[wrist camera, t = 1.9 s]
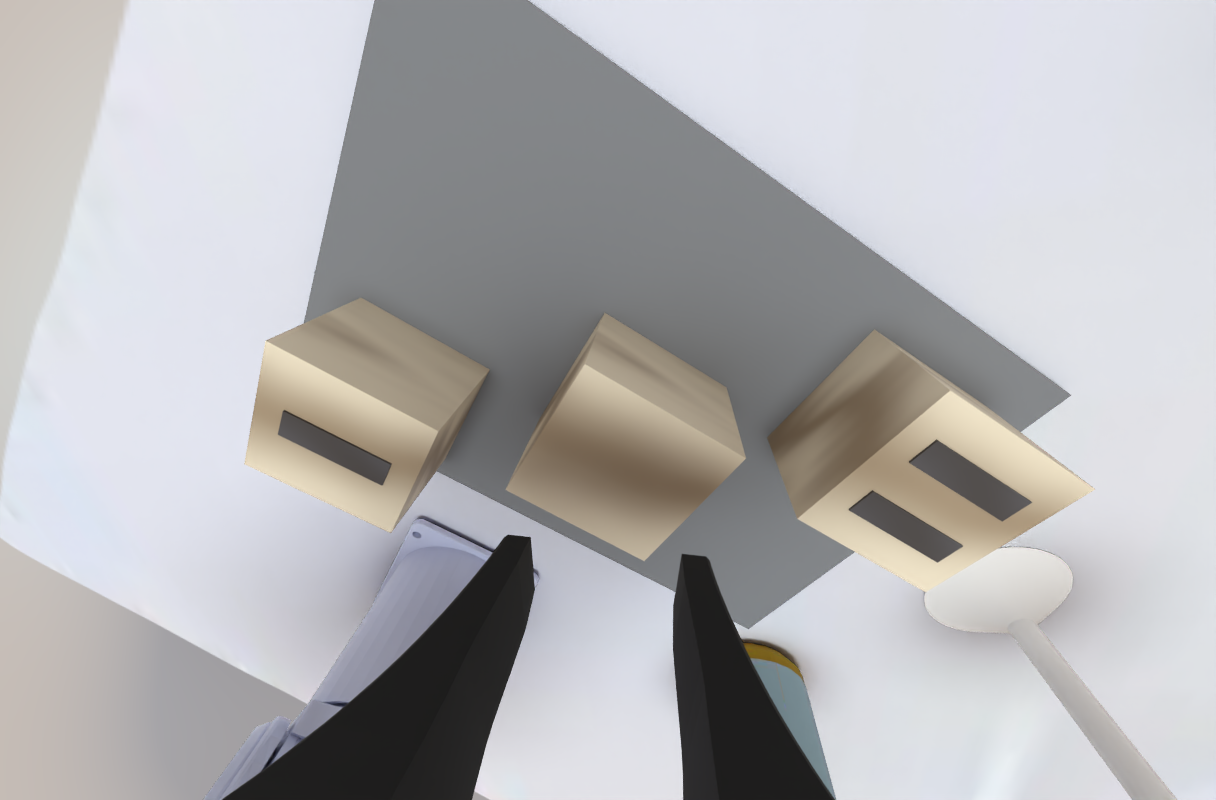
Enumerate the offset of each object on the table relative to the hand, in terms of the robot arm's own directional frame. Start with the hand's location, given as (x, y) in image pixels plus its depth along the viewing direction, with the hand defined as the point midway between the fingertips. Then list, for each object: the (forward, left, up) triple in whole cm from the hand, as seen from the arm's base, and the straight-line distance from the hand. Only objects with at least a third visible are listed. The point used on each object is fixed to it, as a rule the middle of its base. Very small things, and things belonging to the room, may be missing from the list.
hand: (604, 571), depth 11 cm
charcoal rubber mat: (0, 0, -9) cm, 9 cm away
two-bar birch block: (+5, -9, -9) cm, 14 cm away
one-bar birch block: (-5, +9, -9) cm, 14 cm away
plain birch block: (0, 0, -9) cm, 9 cm away
